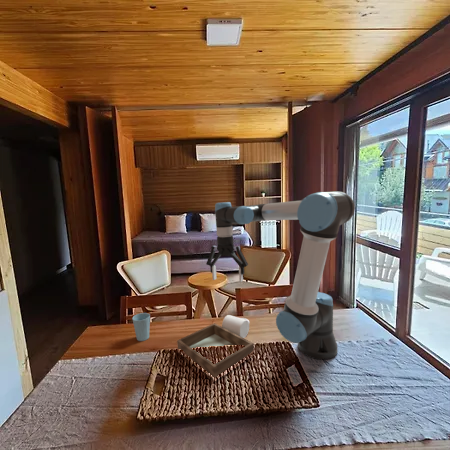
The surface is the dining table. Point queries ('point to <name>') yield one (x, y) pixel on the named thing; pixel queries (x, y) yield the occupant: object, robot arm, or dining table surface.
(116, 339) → the dining table surface
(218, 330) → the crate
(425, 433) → the dining table surface
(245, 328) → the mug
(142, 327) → the cup
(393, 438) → the dining table surface
